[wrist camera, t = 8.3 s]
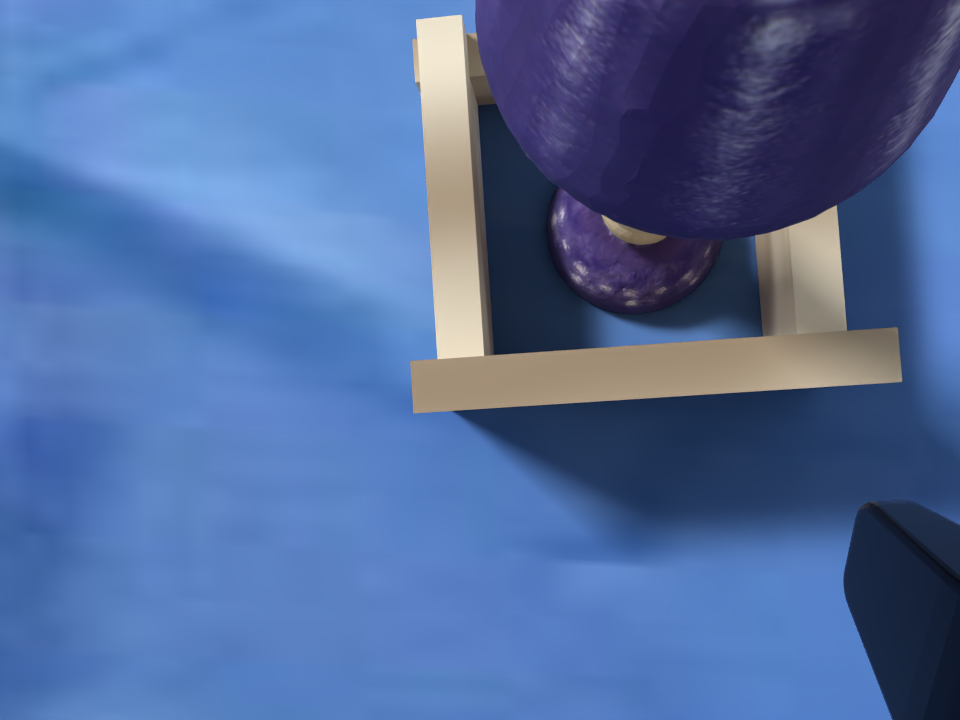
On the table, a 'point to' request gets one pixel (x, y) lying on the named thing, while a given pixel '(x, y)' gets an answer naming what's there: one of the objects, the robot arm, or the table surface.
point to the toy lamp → (705, 120)
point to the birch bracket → (625, 369)
